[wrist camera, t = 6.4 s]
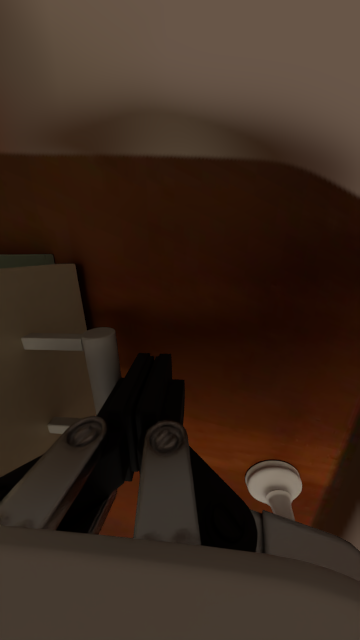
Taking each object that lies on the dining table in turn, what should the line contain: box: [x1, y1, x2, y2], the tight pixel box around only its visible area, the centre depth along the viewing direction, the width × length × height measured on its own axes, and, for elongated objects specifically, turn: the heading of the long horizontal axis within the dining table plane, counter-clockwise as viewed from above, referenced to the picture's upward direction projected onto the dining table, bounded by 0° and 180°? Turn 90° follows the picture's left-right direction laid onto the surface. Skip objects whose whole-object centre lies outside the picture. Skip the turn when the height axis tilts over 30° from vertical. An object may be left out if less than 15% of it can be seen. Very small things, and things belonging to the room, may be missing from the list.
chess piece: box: [245, 461, 302, 521], centre depth 14 cm, size 5×5×10 cm
